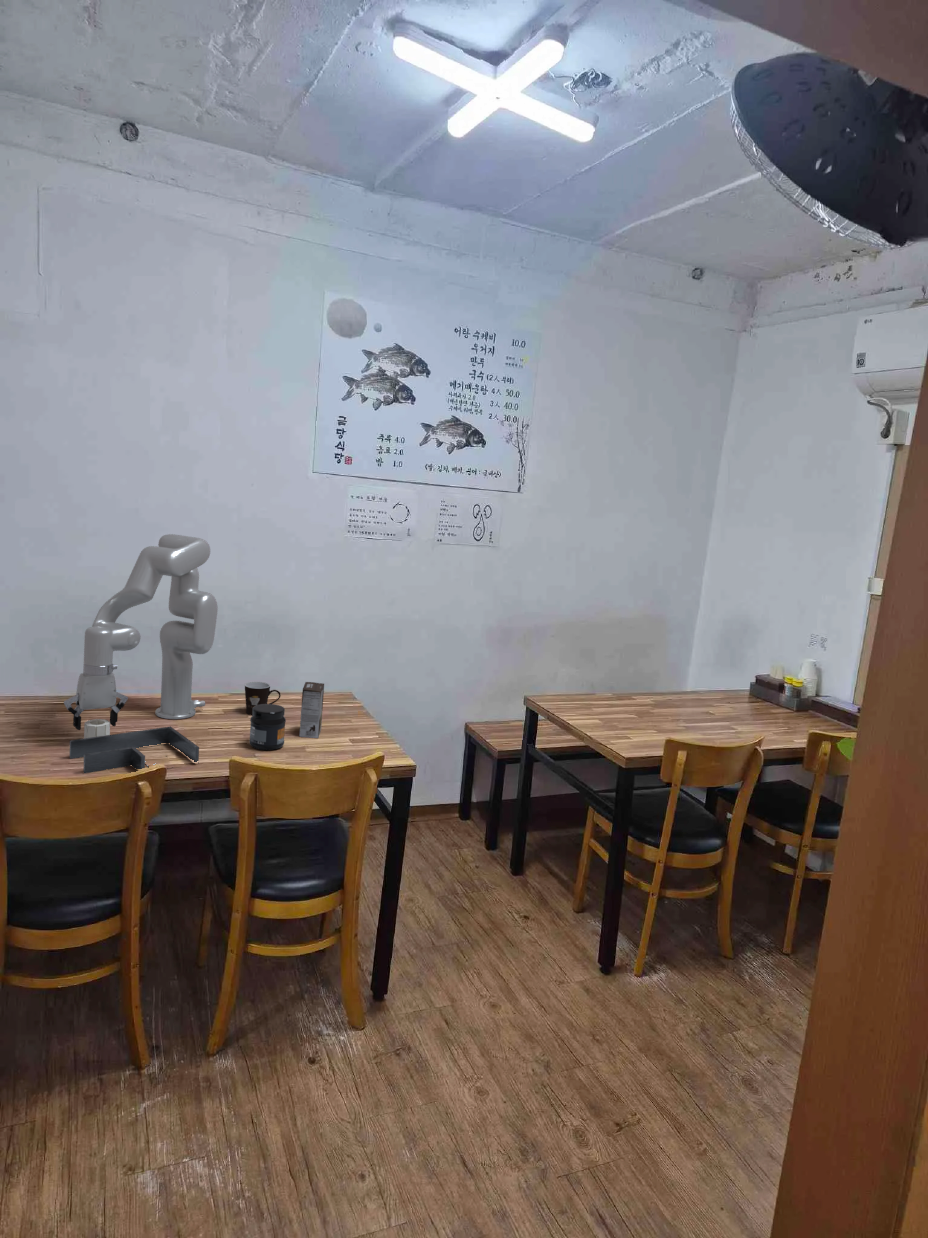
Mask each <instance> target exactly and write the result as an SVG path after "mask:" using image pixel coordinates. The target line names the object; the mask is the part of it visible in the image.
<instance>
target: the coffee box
mask: <svg viewBox="0 0 928 1238" xmlns="http://www.w3.org/2000/svg"><path fill="white" fill-rule="evenodd" d="M324 692H325V683H324V682H322V683H320V682H312V681H305V682H304V685H303V688H302V692H301V693H302V696H301V709H300V720H299V721H300V722H299V737H300V738H311V739H313V738H314V739H319V738H320V735H321V731H322V724H323V708H324V695H325V693H324Z"/></svg>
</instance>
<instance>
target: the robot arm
mask: <svg viewBox="0 0 928 1238" xmlns="http://www.w3.org/2000/svg"><path fill="white" fill-rule="evenodd" d="M210 555H211V546H210V544H209V543H208V542H207V540H205V539H203V538H200V537H194V536H187V535H182V534H173V533H172V534H171V533H169V534H168V533H167V534H163V535H162V536H161V537H159V540H158V545H157V546H154V545H153V546H152V545H150V546H146V547H144V548H143V549H142V550H141V551H140V553H139V555H138V557H137V559H136V562H135V564H134V566H133V568H132V570H131V573H130V574H129V576H128V579H127V581H126V584H125V585H124V587H123V588H122V589H121V590H119V591H118V592H117V593H115V594H114V595H113V596H111V597H110V598H109V599H108V600H107V601H106V602H104V603H103V605H102V606H101V607H100V608H99V610H98V612H97V613H96V616H95V618H94V620H93V623H92V625H91V627H87V628H86V629H85V631H84V643H83V646H84V647H83V648H84V649H83V671H82V673H79V677H78V680H77V685H76V692H75V694H74V695H73V696H71V697H69V698H68V699H67V698H66V699H65V700H64V701H63V705H64V706H65V708H66V710H67V711H68V712H69V713H70V714H72V715H73V716H72V718H73V722H72V726H73V727H74V728H75V729H76V730H77V731H80V730H81V729H82V716H81V714H82V713H83V712H84V711H85V710H88V711H89V710H98V709H107V708H110V709H111V710H110V711H109V722H110V726H112V727H116V725H117V723H118V716H119V715H118V714H119V713H120V711H121V710H122V709H123V708H124V706H125V704H126V703H127V701H128V699H129V697H128V696H127V695H125V694H123V693H120V692H117V684H116V677H115V676H116V675H115V673H114V671H115V670H118V664H114V663H113V662H114V661H113V658H114V657H113V655H114V652H115V651H116V652H117V651H118V652H119V651H120V652H126V651H131V650H133V649H136V647H137V646H138V645H139V644H140V642H141V633H140V631H139V629H137V628H136V627H134V626H131V625H128V624H122V623H120V622H119V623H118V622H117V620H118V619H119V617H120V616H121V614H123V613H124V612H125V611H127V610H129V609H131V608H133V607H136V606H139V605H142V604H146V603H148V602H150V601H152V599H153V598H154V597H155V594H156V592H157V589H158V586H159V585H160V582H161V580H162V578H163V576H165V577H167V576H168V577H171V580H170V587H169V588H170V590H169V597H168V610H169V612H170V614H171V615H173V616H175V617H178V618H185V619H189V620H193V623H192V622H188V621H183V620H169V621H167V622H165V623H163V625H162V627H161V628H160V630H159V643H160V647H161V657H162V658H161V662H162V663H161V686H160V707H158V708H156V710H155V713H154V714H155V715H156V716H157V717H159V718H162V719H167V720H182V719H189V718H192V717H194V716H195V715H196V708H198V707H200V708H201V707H202V708H203V707H205V706H206V702H205V700H198V699H194V700H193V699H192V690H193V689H192V687H193V669H194V668H193V667H194V666H193V665H194V664H193V658H192V654H194V655H195V654H196V655H205V654H207V653H208V652H209V651H210V650H211V649H212V648H213V644H214V640H215V634H216V633H215V632H216V628H217V627H216V626H217V625H216V624H217V619H218V618H217V617H218V611H219V610H218V609H219V608H218V602H217V599H216V597H215V596H214V595H213V594H211V593H210V592H207V591H201V590H199V583H200V582H199V581H200V580H199V579H200V573H199V572H200V571H199V569H198V568H199V567H201V566H202V565H204V564H205V563H206V562H207V561H208V560H209V558H210ZM117 698H118V699H120V700H119V702H118V703H117ZM73 703H75V706H76V707H75V708H73V706H72V704H73Z"/></svg>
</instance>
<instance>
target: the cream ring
mask: <svg viewBox="0 0 928 1238" xmlns="http://www.w3.org/2000/svg"><path fill="white" fill-rule="evenodd" d="M83 728H84V729H83V730H84V731H83V739H84V738H91V737H98V736H105V735H111V724H110V720H108V719H101V718H94V719H90V720H89V719H88V720H86V721H85V722H84V726H83Z"/></svg>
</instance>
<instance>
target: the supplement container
mask: <svg viewBox="0 0 928 1238" xmlns="http://www.w3.org/2000/svg"><path fill="white" fill-rule="evenodd" d="M285 711H286V710H285V707H284V706H282V705H280V704H276V703H275V704H274V703H273V704H269V703H267V704H260V705H256V706H254V707H253V713H252V714H253V715H251V717H250V725H249V726H250V727H249V728H250V729H249V740H248V742H249V746H251V747H252V748H253V749H255V750H258V749H259V751H275V750H279V749H280V748H282V747H283V746H284V745H285V732H286V731H285V730H286V721H287V719H286V717H285Z"/></svg>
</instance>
